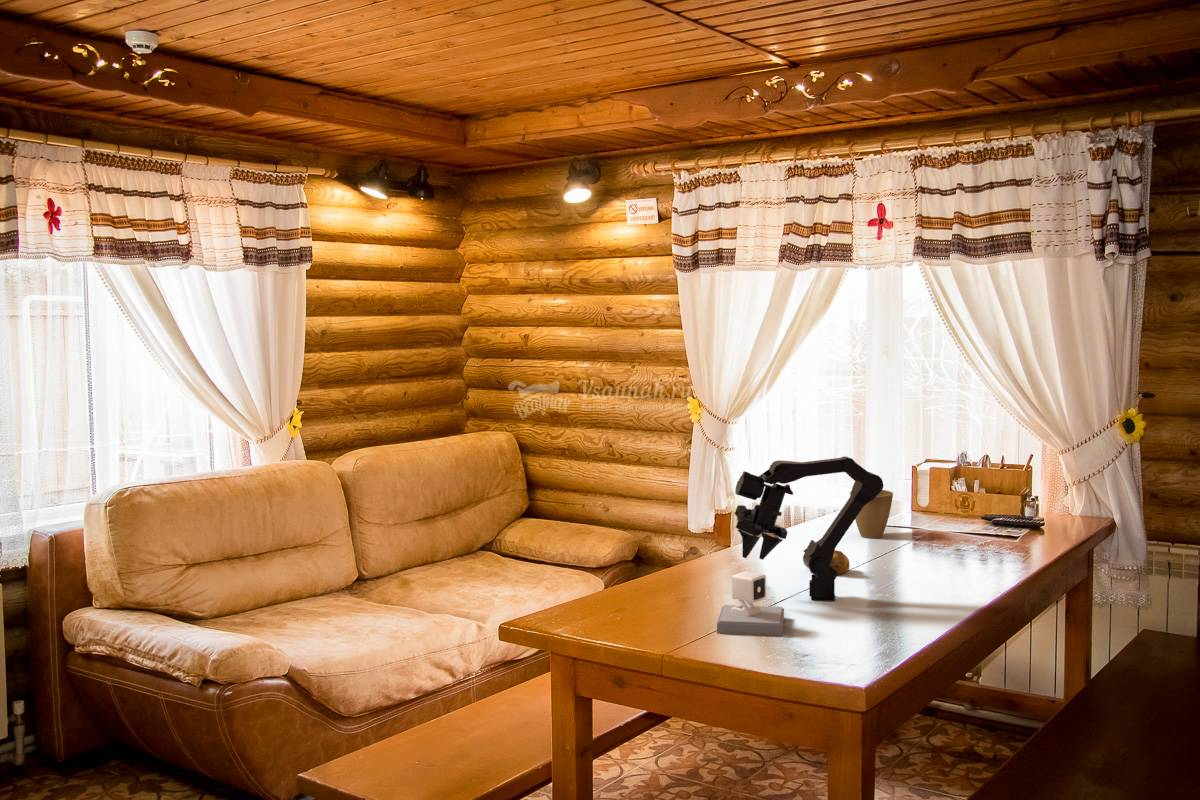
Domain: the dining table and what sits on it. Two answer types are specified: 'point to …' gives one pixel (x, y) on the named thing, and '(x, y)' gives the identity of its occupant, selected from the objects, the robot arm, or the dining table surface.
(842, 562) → the bread roll
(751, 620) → the grey square slab
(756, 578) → the security camera
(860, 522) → the plant pot
